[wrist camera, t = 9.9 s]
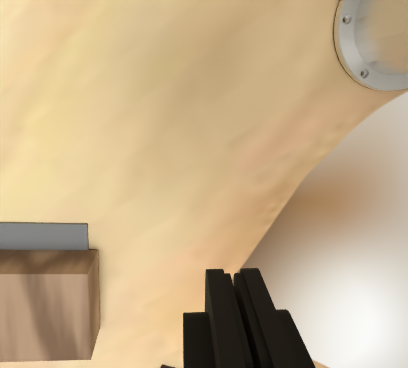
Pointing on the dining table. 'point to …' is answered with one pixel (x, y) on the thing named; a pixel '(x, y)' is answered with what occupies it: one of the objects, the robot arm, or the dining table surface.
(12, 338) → the walnut block
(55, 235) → the mat
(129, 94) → the dining table surface
